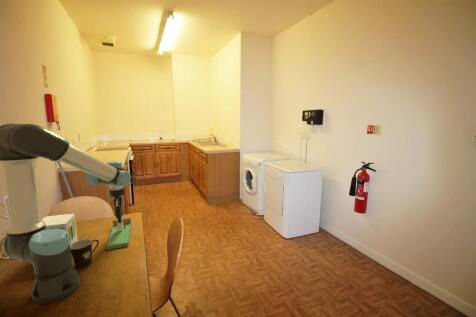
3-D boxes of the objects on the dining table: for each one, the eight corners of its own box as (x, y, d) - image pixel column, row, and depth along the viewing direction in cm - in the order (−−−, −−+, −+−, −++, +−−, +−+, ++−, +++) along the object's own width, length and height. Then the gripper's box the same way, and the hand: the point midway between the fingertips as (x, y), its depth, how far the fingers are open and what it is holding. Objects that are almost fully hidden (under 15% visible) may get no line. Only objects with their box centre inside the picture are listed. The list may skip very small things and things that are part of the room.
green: (128, 245, 125) (127, 237, 124) (107, 249, 121) (106, 240, 120) (131, 225, 148) (130, 217, 148) (113, 227, 145) (112, 220, 144)
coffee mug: (73, 272, 103) (70, 251, 102) (71, 263, 110) (68, 243, 108) (103, 262, 111) (100, 242, 109) (99, 253, 117) (97, 235, 115)
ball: (119, 224, 140) (121, 223, 143) (115, 229, 139) (117, 227, 143) (123, 228, 139) (126, 226, 143) (119, 232, 139) (122, 231, 143)
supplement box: (70, 257, 115) (65, 223, 112) (37, 262, 111) (31, 227, 108) (79, 243, 127) (75, 212, 124) (49, 247, 123) (45, 216, 120)
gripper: (123, 190, 129) (126, 231, 133) (125, 184, 141) (128, 221, 145) (107, 192, 126) (111, 233, 130) (111, 186, 138) (114, 223, 142)
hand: (120, 227), depth 138 cm, fingers closed
